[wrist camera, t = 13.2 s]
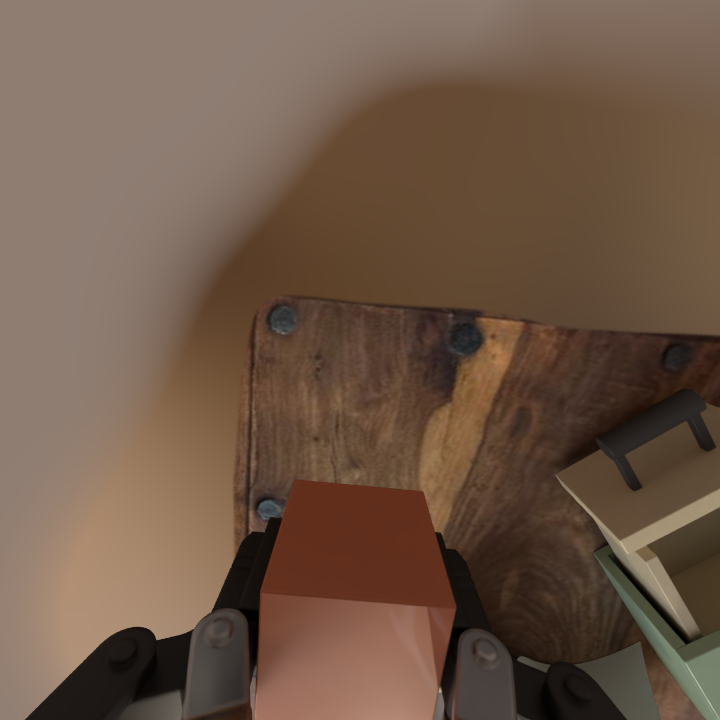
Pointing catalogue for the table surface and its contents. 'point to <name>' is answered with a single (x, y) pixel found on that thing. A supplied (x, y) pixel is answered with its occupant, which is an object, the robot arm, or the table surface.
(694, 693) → the cabinet
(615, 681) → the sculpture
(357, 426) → the table surface
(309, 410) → the table surface
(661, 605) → the drawer
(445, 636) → the block
